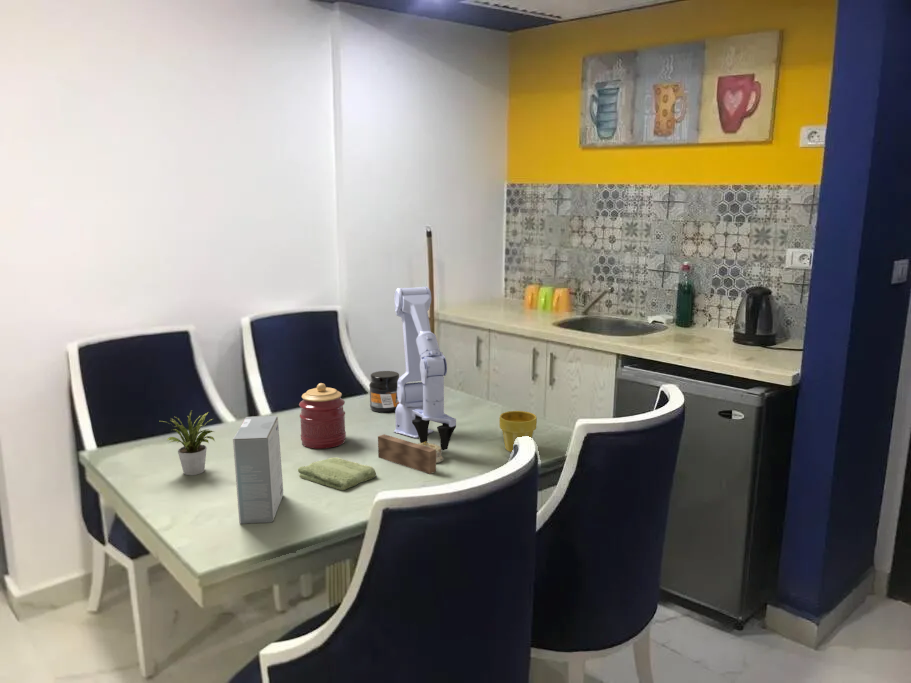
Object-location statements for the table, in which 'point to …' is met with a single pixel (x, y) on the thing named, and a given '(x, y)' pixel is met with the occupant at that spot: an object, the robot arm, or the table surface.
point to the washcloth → (337, 473)
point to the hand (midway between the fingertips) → (434, 446)
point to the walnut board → (407, 453)
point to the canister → (322, 418)
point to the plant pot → (516, 426)
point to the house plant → (192, 446)
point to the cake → (438, 450)
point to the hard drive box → (258, 469)
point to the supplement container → (384, 391)
